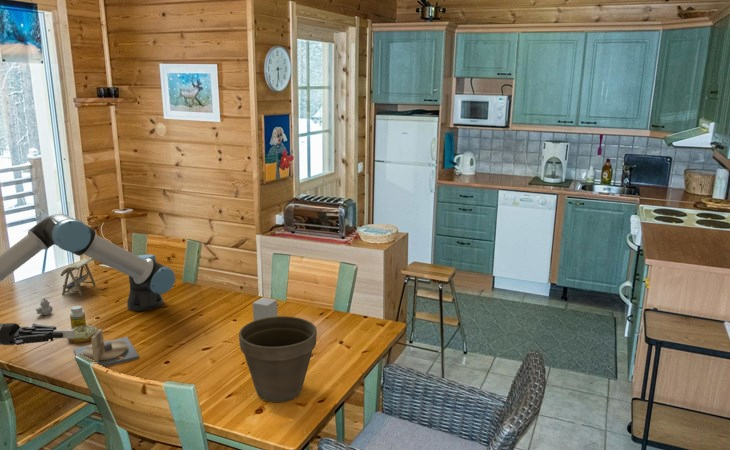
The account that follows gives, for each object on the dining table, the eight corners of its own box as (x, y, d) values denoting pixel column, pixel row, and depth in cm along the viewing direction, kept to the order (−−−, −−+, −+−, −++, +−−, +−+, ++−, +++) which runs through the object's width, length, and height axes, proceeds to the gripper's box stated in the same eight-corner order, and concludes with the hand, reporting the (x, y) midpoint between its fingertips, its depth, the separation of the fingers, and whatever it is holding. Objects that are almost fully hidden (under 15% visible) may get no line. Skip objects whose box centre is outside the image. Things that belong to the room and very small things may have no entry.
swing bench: (78, 285, 279) (74, 256, 276) (97, 285, 279) (94, 257, 275) (61, 295, 265) (57, 265, 261) (81, 296, 265) (78, 266, 261)
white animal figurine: (55, 313, 244) (53, 296, 243) (40, 318, 239) (38, 301, 237) (49, 310, 247) (47, 293, 245) (33, 315, 242) (31, 298, 240)
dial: (92, 342, 215) (90, 318, 213) (133, 342, 216) (131, 317, 214) (73, 364, 199) (70, 337, 196) (117, 363, 200) (115, 337, 198)
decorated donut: (62, 344, 217) (61, 335, 216) (74, 332, 227) (73, 323, 226) (90, 344, 218) (89, 335, 217) (101, 332, 228) (100, 323, 227)
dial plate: (127, 339, 222) (127, 336, 221) (139, 358, 207) (138, 355, 206) (73, 350, 211) (73, 347, 211) (81, 372, 196) (81, 368, 196)
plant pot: (262, 367, 202) (261, 310, 197) (327, 378, 195) (327, 320, 190) (226, 403, 179) (223, 340, 173) (298, 417, 172) (298, 352, 167)
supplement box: (278, 328, 234) (277, 299, 231) (268, 335, 228) (267, 305, 225) (263, 324, 237) (262, 296, 234) (253, 331, 231) (252, 302, 228)
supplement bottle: (85, 325, 233) (83, 304, 231) (87, 330, 229) (85, 308, 226) (70, 328, 230) (68, 306, 228) (72, 333, 226) (70, 311, 224)
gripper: (15, 336, 205) (82, 335, 206) (-6, 352, 192) (66, 351, 194) (12, 316, 203) (80, 316, 205) (-9, 332, 190) (64, 331, 192)
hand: (73, 333), depth 199 cm, fingers closed
